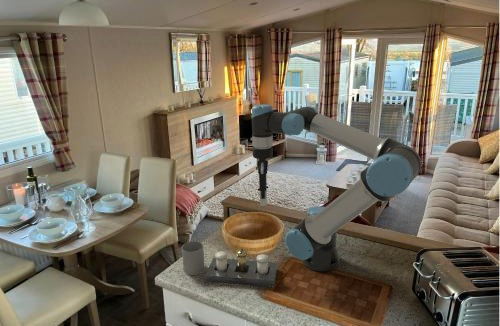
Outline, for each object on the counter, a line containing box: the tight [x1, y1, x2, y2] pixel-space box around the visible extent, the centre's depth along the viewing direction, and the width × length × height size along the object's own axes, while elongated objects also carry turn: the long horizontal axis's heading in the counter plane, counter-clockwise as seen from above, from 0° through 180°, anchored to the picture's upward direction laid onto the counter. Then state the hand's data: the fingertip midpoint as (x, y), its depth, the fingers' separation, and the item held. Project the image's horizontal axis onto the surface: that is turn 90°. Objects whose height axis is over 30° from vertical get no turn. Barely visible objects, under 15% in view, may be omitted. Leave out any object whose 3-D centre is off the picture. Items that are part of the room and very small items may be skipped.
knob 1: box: [214, 251, 228, 271], centre depth 143 cm, size 5×5×8 cm
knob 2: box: [256, 254, 270, 275], centre depth 141 cm, size 5×5×8 cm
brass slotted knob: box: [235, 248, 248, 271], centre depth 141 cm, size 4×4×8 cm
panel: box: [204, 257, 278, 288], centre depth 143 cm, size 26×12×3 cm, turn 81°
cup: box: [181, 240, 206, 276], centre depth 147 cm, size 8×8×10 cm
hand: (263, 205), depth 145 cm, fingers closed
